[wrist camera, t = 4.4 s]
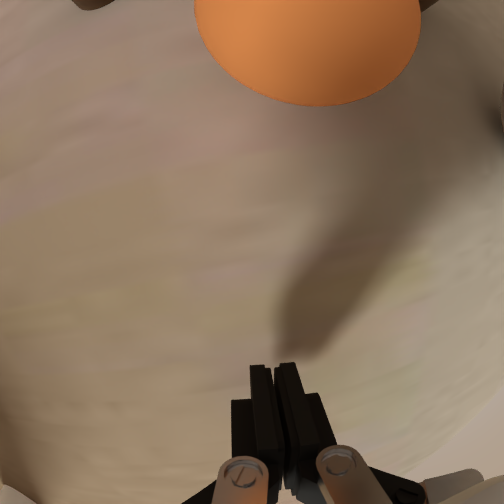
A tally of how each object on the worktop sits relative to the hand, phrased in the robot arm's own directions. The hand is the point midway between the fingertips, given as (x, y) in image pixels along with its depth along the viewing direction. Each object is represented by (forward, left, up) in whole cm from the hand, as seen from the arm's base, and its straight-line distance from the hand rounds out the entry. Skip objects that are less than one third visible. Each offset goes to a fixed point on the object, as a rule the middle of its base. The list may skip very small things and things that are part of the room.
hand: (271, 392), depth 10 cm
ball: (+1, +13, +2) cm, 13 cm away
